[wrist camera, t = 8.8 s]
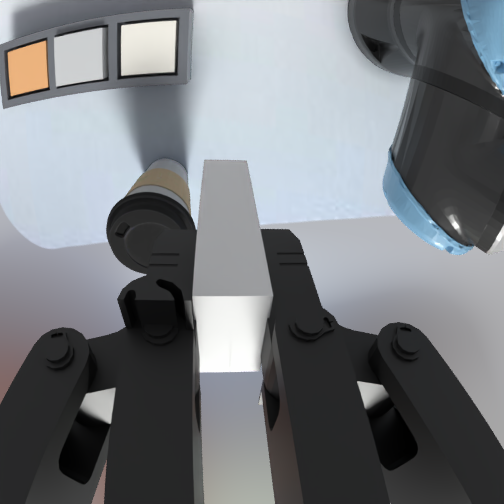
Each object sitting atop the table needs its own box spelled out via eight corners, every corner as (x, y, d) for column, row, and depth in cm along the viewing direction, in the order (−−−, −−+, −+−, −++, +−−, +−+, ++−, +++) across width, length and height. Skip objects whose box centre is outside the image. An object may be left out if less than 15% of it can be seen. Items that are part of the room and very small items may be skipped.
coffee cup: (136, 142, 38) (100, 196, 26) (206, 151, 40) (201, 209, 28) (132, 203, 44) (104, 274, 32) (196, 212, 46) (189, 285, 34)
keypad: (193, 11, 29) (190, 8, 25) (190, 79, 34) (186, 84, 30) (16, 41, 26) (-2, 45, 22) (20, 100, 31) (3, 109, 28)
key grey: (108, 27, 26) (102, 27, 24) (108, 76, 29) (102, 79, 28) (61, 37, 25) (54, 37, 23) (63, 83, 29) (56, 86, 27)
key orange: (53, 39, 26) (45, 40, 24) (55, 84, 29) (48, 87, 28) (16, 50, 25) (7, 52, 24) (18, 92, 29) (10, 96, 27)
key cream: (178, 21, 28) (176, 20, 26) (176, 70, 31) (174, 71, 30) (126, 25, 27) (121, 25, 25) (126, 73, 31) (121, 75, 29)
